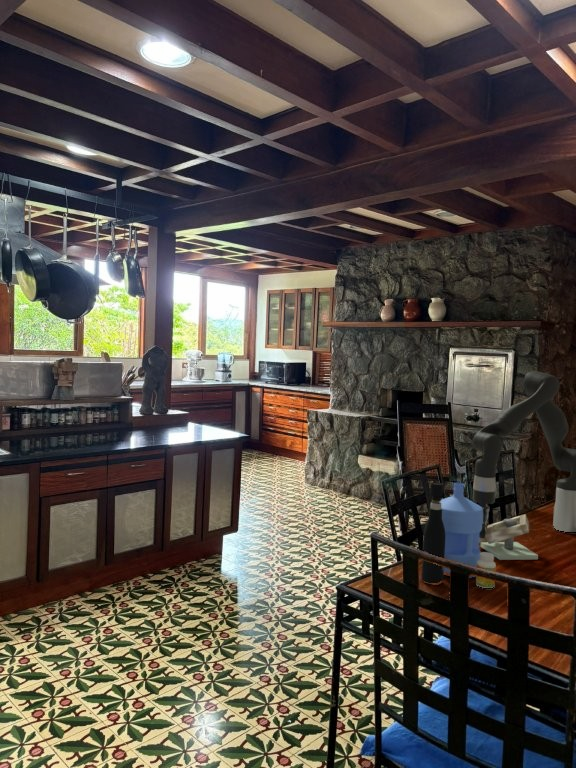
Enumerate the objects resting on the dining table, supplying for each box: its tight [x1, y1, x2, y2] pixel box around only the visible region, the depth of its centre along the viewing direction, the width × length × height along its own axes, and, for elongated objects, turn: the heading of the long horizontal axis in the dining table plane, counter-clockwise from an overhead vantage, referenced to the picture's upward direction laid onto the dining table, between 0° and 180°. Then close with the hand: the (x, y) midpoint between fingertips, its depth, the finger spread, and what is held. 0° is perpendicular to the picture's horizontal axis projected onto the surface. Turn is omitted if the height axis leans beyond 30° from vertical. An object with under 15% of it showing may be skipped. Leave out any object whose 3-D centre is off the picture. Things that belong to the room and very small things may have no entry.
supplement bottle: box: [475, 551, 497, 589], centre depth 175 cm, size 5×5×10 cm
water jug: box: [440, 482, 483, 579], centre depth 187 cm, size 16×16×28 cm
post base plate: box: [480, 518, 539, 561], centre depth 207 cm, size 14×14×12 cm
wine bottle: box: [420, 481, 445, 583], centre depth 177 cm, size 6×6×30 cm
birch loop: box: [479, 513, 530, 544], centre depth 208 cm, size 18×14×7 cm
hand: (481, 535), depth 210 cm, fingers open, 3 cm apart
